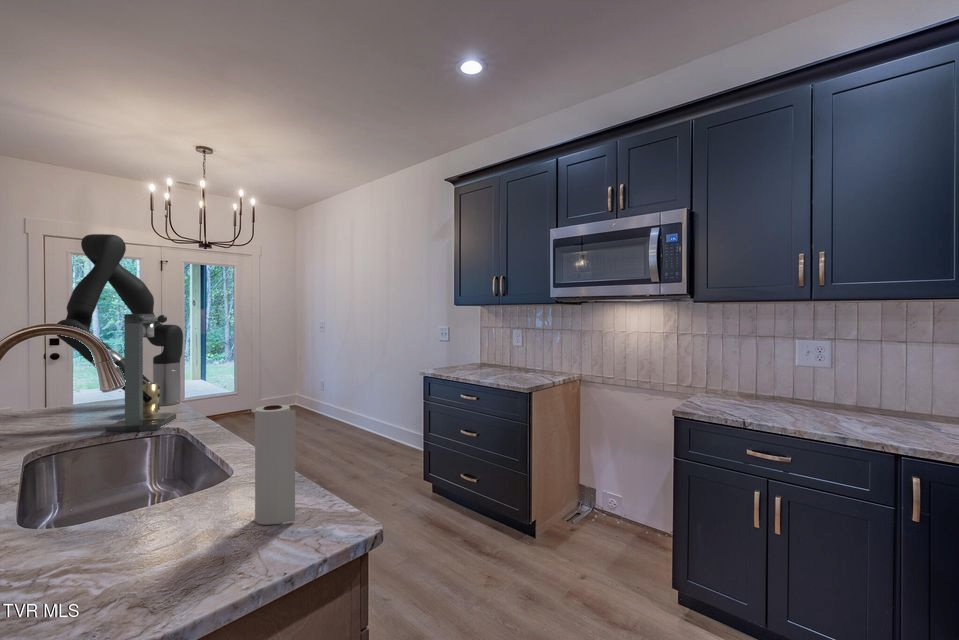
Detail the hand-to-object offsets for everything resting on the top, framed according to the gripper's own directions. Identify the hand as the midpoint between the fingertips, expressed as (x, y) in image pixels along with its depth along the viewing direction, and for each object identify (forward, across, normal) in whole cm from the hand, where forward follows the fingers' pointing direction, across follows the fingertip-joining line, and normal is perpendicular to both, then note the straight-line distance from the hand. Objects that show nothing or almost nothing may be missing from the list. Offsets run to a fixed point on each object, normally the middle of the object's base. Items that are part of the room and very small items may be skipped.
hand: (153, 398), depth 150 cm
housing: (+2, 0, +5) cm, 5 cm away
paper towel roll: (+44, -86, -32) cm, 102 cm away
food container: (0, +16, +12) cm, 20 cm away
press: (+6, -4, +6) cm, 9 cm away
